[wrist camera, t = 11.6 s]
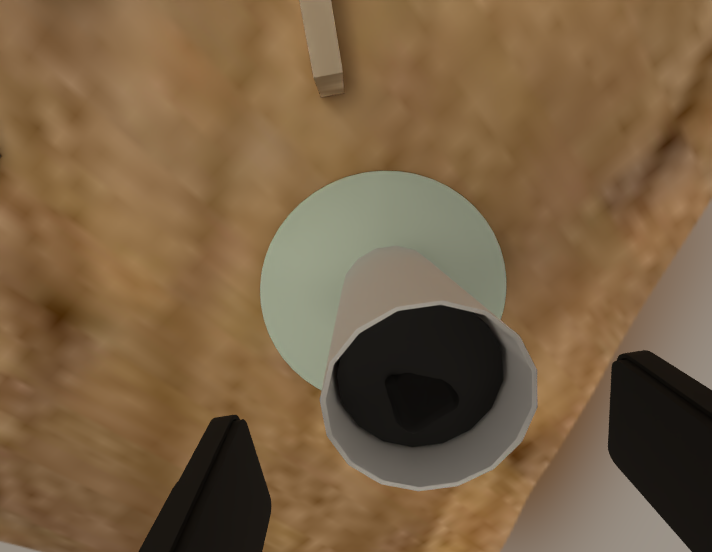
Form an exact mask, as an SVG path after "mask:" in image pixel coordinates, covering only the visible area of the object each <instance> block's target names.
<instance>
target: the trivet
mask: <svg viewBox="0 0 712 552" xmlns="http://www.w3.org/2000/svg"><path fill="white" fill-rule="evenodd" d="M390 246H400V247H404V248H408V249H412V250H416V251H417V252H418V253H420V254H421V255H422V256H424V257H425V258H426V259H428V260H429V261H430V262H432V263H433V264H434V265H435V266H436V267H437V268H439V269H440V270H441V271H442V272H443V273H445V274H446V275H447V276H448V277H449V278H451V279H452V280H453V281H454V282H455V283H457V284H458V285H459V286H460V287H461V288H463V289H464V290H465V291H466V292H467V293H469V294H470V295H471V296H472V297H473V298H475V299H476V300H477V301H478V302H480V303H481V304H482V305H483V306H484V307H486V308H487V309H488V310H489V311H490V312H492V313H493V314H494V315H495V316H496V317H498V318H499V319H500V320H501V317H502V313H503V310H504V305H505V298H506V272H505V264H504V260H503V256H502V252H501V249H500V246H499V244H498V241H497V239H496V237H495V235H494V233H493V231H492V229H491V228H490V226H489V224H488V223H487V221H486V220H485V218H484V217H483V216H482V215H481V214H480V212H479V211H478V210H477V209H476V208H475V207H474V206H473V205H472V204H471V203H470V202H469V201H468V200H466V199H465V198H464V197H463V196H462V195H460V194H459V193H457V192H456V191H454V190H453V189H451V188H450V187H448V186H446V185H444V184H442V183H440V182H438V181H435V180H433V179H430V178H427V177H424V176H421V175H418V174H413V173H407V172H401V171H374V172H365V173H360V174H356V175H352V176H348V177H345V178H342V179H340V180H337V181H335V182H332V183H330V184H328V185H327V186H325V187H323V188H321V189H320V190H318V191H316V192H314V193H313V194H312V195H310V196H309V197H308V198H307V199H305V200H304V201H303V202H301V203H300V204H299V205H298V206H297V207H296V208H295V209H294V210H293V211H292V212H291V213H290V214H289V215H288V217H287V218H286V219H285V221H284V222H283V223H282V225H281V226H280V227H279V229H278V231H277V233H276V234H275V236H274V238H273V240H272V242H271V244H270V246H269V249H268V251H267V254H266V257H265V260H264V265H263V269H262V273H261V284H260V297H261V307H262V313H263V318H264V321H265V324H266V327H267V330H268V333H269V335H270V337H271V339H272V341H273V343H274V345H275V347H276V348H277V350H278V351H279V353H280V354H281V356H282V357H283V359H284V360H285V361H286V362H287V363H288V364H289V366H290V367H291V368H292V369H293V370H294V371H295V372H296V373H297V374H299V375H300V376H301V377H302V378H303V379H304V380H306V381H307V382H309V383H310V384H312V385H313V386H315V387H316V388H318V389H320V390H322V386H323V381H324V376H325V371H326V366H327V361H328V356H329V351H330V346H331V341H332V336H333V331H334V326H335V321H336V316H337V311H338V307H339V302H340V297H341V291H342V288H343V284H344V280H345V276H346V274H347V273H348V271H349V270H350V269H351V267H352V266H353V265H354V263H355V262H356V261H357V259H359V258H360V257H362V256H364V255H366V254H367V253H369V252H371V251H372V250H374V249H376V248H383V247H390Z"/></svg>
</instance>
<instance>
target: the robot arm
mask: <svg viewBox="0 0 712 552" xmlns="http://www.w3.org/2000/svg"><path fill="white" fill-rule="evenodd" d="M611 374H612V375H611V394H610V415H609V436H608V450H609V454H610V456H611V458H612V460H613V462H614V463H615V464H616V465H617V467H618V468H619V469H620V470H621V471H622V472H623V473H624V475H625V476H626V477H627V478H628V479H629V480H630V482H631V483H632V484H633V485H634V486H635V487H636V488H637V489H638V491H639V492H640V493H641V494H642V495H643V496H644V498H645V499H646V500H647V501H648V502H649V503H650V504H651V506H652V507H653V508H654V509H655V510H656V511H657V512H658V514H659V515H660V516H661V517H662V518H663V519H664V520H665V522H666V523H667V524H668V525H669V526H670V527H671V528H672V529H673V531H674V532H675V533H676V534H677V535H678V536H679V537H680V539H681V540H682V541H683V542H684V543H685V544H686V545H687V547H688V548H689V549H690V550H691V551H692V552H712V390H710V389H709V388H707V387H706V386H704V385H702V384H701V383H699V382H698V381H696V380H695V379H693V378H691V377H690V376H688V375H687V374H685V373H684V372H682V371H680V370H679V369H677V368H676V367H674V366H673V365H671V364H669V363H668V362H666V361H665V360H663V359H661V358H660V357H658V356H657V355H655V354H653V353H652V352H650V351H645V350H643V351H637V352H631V353H625V354H621V355H619V356H618V358H617V361H615V362H613V364H612V372H611ZM270 514H271V498H270V495H269V491H268V488H267V485H266V482H265V479H264V476H263V473H262V469H261V466H260V463H259V460H258V457H257V454H256V451H255V447H254V444H253V441H252V438H251V435H250V432H249V429H248V426H247V423H246V421H245V420H244V419H242V420H240V419H239V417H238V416H237V415H230V416H223V417H217V418H213V419H212V420H211V422H210V423H209V425H208V427H207V429H206V431H205V433H204V435H203V437H202V438H201V440H200V442H199V444H198V446H197V448H196V450H195V451H194V453H193V455H192V457H191V459H190V461H189V463H188V464H187V466H186V468H185V470H184V472H183V474H182V476H181V478H180V479H179V481H178V482H177V483H176V485H175V486H174V488H173V489H172V491H171V493H170V495H169V497H168V498H167V500H166V502H165V504H164V506H163V508H162V509H161V511H160V513H159V515H158V517H157V519H156V520H155V522H154V524H153V526H152V528H151V530H150V532H149V533H148V535H147V537H146V539H145V541H144V543H143V544H142V546H141V548H140V550H139V552H262V550H263V545H264V541H265V537H266V532H267V528H268V523H269V519H270Z"/></svg>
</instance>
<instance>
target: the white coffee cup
mask: <svg viewBox="0 0 712 552" xmlns="http://www.w3.org/2000/svg"><path fill="white" fill-rule="evenodd" d="M320 404H321V409H322V414H323V419H324V424H325V429H326V434H327V437H328V438H329V439H330V441H331V442H332V443H333V445H334V446H335V447H336V449H337V450H338V451H339V453H340V454H341V456H342V457H343V458H344V460H345V461H346V462H347V464H348V465H350V466H351V467H353V468H355V469H356V470H358V471H360V472H361V473H363V474H365V475H366V476H368V477H370V478H371V479H373V480H375V481H376V482H378V483H380V484H384V485H389V486H394V487H399V488H405V489H410V490H415V491H423V490H431V489H439V488H446V487H454V486H459V485H461V484H463V483H465V482H467V481H470V480H472V479H474V478H476V477H478V476H480V475H482V474H484V473H486V472H489V471H491V470H493V469H494V468H495V467H496V466H497V465H498V464H499V463H501V462H502V461H503V460H504V459H505V458H506V457H507V456H508V455H509V454H510V453H511V452H512V451H513V450H514V449H515V448H516V447H517V446H518V445H519V444H520V443H521V442H522V440H523V438H524V436H525V434H526V431H527V429H528V427H529V425H530V422H531V420H532V418H533V416H534V414H535V411H536V409H537V369H536V367H535V365H534V363H533V361H532V359H531V357H530V355H529V353H528V351H527V349H526V347H525V345H524V343H523V341H522V339H521V337H520V336H519V335H518V334H517V333H516V332H514V331H513V330H512V329H511V328H510V327H508V326H507V325H506V324H505V323H504V322H502V321H501V320H500V319H499V318H498V317H496V316H495V315H494V314H493V313H492V312H490V311H489V310H488V309H487V308H486V307H484V306H483V305H482V304H481V303H480V302H478V301H477V300H476V299H475V298H473V297H472V296H471V295H470V294H469V293H467V292H466V291H465V290H464V289H463V288H461V287H460V286H459V285H458V284H457V283H455V282H454V281H453V280H452V279H451V278H449V277H448V276H447V275H446V274H445V273H443V272H442V271H441V270H440V269H439V268H437V267H436V266H435V265H434V264H433V263H432V262H430V261H429V260H428V259H426V258H425V257H424V256H422V255H421V254H420V253H418V252H417V251H416V250H412V249H408V248H404V247H400V246H390V247H383V248H376V249H374V250H372V251H371V252H369V253H367V254H366V255H364V256H362V257H360V258H359V259H357V261H356V262H355V263H354V265H353V266H352V267H351V269H350V270H349V271H348V273H347V274H346V276H345V280H344V284H343V288H342V291H341V297H340V302H339V307H338V311H337V316H336V321H335V326H334V331H333V336H332V341H331V346H330V351H329V356H328V361H327V366H326V371H325V376H324V381H323V386H322V391H321V396H320Z"/></svg>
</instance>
